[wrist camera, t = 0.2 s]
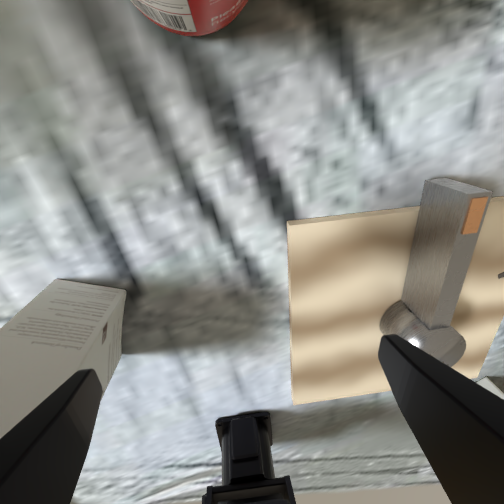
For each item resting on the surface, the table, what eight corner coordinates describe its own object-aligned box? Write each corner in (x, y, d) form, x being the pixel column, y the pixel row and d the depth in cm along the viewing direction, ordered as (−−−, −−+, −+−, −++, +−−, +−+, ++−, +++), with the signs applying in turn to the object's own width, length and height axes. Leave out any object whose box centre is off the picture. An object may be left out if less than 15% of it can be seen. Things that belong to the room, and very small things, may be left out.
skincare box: (122, 355, 27) (27, 589, 14) (54, 348, 26) (-124, 598, 12) (127, 283, 23) (6, 506, 10) (48, 272, 22) (-206, 507, 9)
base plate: (470, 370, 33) (477, 378, 32) (291, 397, 32) (293, 406, 31) (542, 191, 23) (556, 195, 22) (286, 221, 22) (290, 226, 21)
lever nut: (419, 353, 29) (450, 390, 25) (373, 359, 29) (397, 398, 25) (467, 175, 21) (525, 189, 17) (403, 182, 20) (446, 199, 16)
